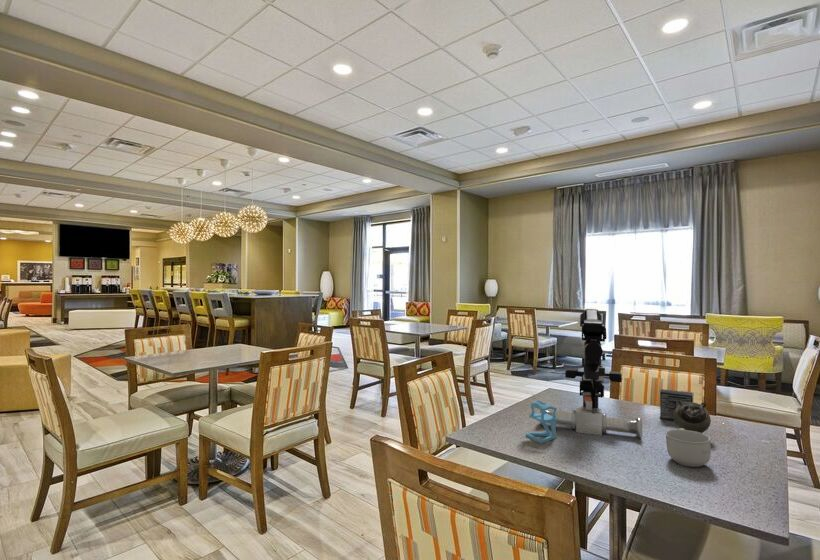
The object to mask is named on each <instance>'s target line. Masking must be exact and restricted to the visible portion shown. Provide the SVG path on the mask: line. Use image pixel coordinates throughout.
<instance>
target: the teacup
mask: <svg viewBox="0 0 820 560" xmlns="http://www.w3.org/2000/svg"><path fill="white" fill-rule="evenodd" d="M664 436H665V441H666V442H665V443H666V451H667V453H668V455H669V457H670V458H671V459H672V460H674V462H676V463H677V464H679V465H681V466H685V467H690V468H691V467H692V468H700V467H702V466H704V465H706V464H707V463H709V461H710V459H711V450H712V449H711V440H712V439H711V437H710V436H709V435H707V434H705V433H704V432H703V433H699V432H696V431H690V430H685V429H683V428H680V427H679V428H678V429H669V430H667V431H666V432H665V435H664Z"/></svg>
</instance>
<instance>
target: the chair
mask: <svg viewBox="0 0 820 560" xmlns="http://www.w3.org/2000/svg"><path fill="white" fill-rule="evenodd" d="M529 405H530V409H531V413H529V414H528V418H531V419H534V420H535V421H537V422H539V423H540V422H541V423H542V424H543V425H542V426H543V428H544V430H545V432H526V433H525V436H526V437H527V438H528V439H531V440H533V441H535V442H537V443H539V444H544V443H547V442H550V441H552V440H554V439H557V434H556V433H557V432H556V429H557V428H556V426H557V424H556V422H557V421H558V418H556V417H555V412H556V411H557V409H558V407H557V406H555V407H554V406H553V405H551V404H549V403H548V404H547V402H543V401H541V400H535V401H533V402H531V403H530V404H529ZM534 408H535V409H537V410H539V413H535V409H534ZM546 410H552V411H553V414H552V416H551V415H549V414H546ZM540 411H541V413H540ZM547 424H549V425H550V426H551V431H550V429H549V426H548V425H547ZM538 437H544V438H542V439H541V438H538Z"/></svg>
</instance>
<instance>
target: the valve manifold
mask: <svg viewBox="0 0 820 560" xmlns="http://www.w3.org/2000/svg"><path fill="white" fill-rule="evenodd" d="M553 411H554V410H553V409H547V410H546V414H549V415H551V416H552V414H553ZM539 413H541V411H540V410H539ZM555 417H556V418H558V421H557V422H556V425H563V426H570V427H571V429H572V430H575V433H580V434H587V435H595V436H601V437H602V435H603V434H607V431H609V432H616V433H617V432H618V433H625V434H633V435H635V437H636V438H637V439H642V438H643V421H642V420H643V419H642V418H641V417H638V416H637V417H636V416H635V419H629V418H628V419H626V418H620V417H619V418H618V417H611V416H610V417H609V416H607V414H606V413H603V412H602V409H601V408H599V409H595V408H592V410H586V407H583V406H576V409H572V410H571V412H568V411H561V410H560V411H558V410H556V412H555ZM539 425H540V426H543V424H542V423H541V422H539Z"/></svg>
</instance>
